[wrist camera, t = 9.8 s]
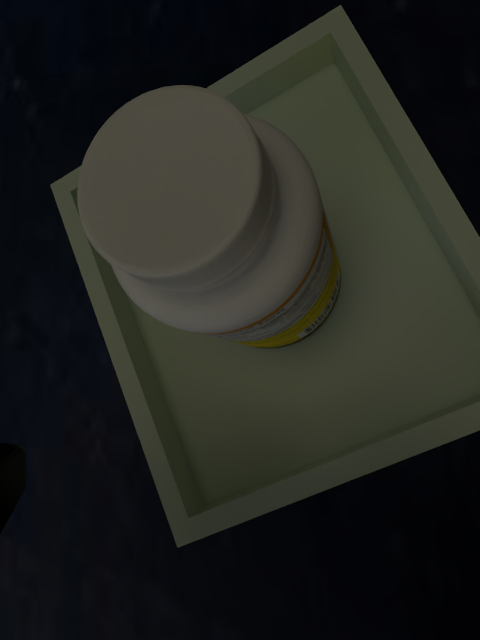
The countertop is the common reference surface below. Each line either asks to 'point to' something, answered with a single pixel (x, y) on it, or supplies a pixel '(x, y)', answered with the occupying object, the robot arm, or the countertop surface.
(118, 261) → the supplement bottle
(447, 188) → the tray
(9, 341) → the countertop surface
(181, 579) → the countertop surface
